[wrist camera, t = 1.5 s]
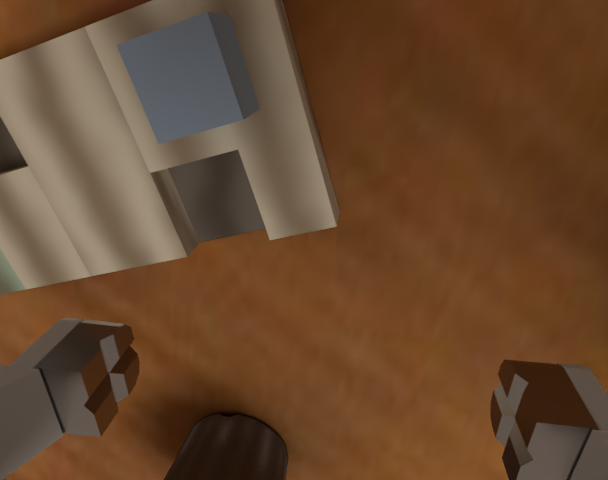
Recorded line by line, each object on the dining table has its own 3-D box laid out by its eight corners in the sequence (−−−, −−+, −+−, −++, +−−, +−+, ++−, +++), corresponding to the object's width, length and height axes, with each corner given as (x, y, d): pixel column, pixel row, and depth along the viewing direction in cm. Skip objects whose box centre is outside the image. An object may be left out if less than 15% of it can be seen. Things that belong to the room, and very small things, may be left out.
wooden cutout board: (272, -36, 27) (262, -43, 25) (339, 211, 34) (336, 226, 32) (-107, 110, 36) (-145, 116, 34) (6, 282, 43) (-18, 298, 41)
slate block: (229, 14, 26) (207, 11, 23) (259, 109, 29) (243, 119, 25) (149, 44, 28) (116, 45, 24) (184, 131, 30) (158, 144, 27)
